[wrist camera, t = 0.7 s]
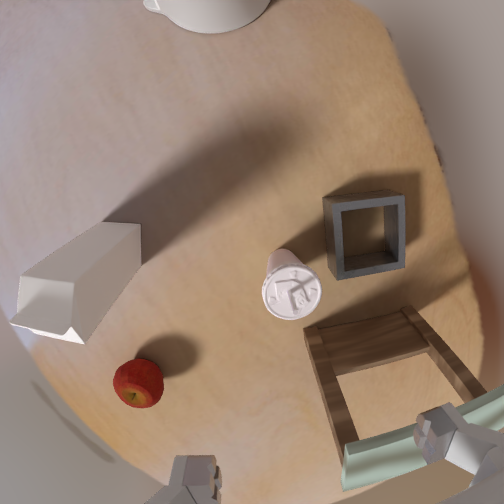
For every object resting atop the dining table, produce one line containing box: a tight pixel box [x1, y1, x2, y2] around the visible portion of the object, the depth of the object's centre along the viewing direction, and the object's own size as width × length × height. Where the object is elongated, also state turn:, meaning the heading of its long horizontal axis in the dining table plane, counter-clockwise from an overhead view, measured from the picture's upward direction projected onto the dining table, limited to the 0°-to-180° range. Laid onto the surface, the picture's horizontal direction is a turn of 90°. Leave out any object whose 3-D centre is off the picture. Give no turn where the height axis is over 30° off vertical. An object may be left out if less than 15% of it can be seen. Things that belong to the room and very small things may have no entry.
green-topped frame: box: [303, 306, 504, 492], centre depth 32 cm, size 7×19×26 cm, turn 99°
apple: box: [113, 358, 164, 408], centre depth 44 cm, size 8×8×8 cm
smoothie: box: [262, 249, 322, 320], centre depth 35 cm, size 6×6×14 cm
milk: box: [10, 222, 142, 344], centre depth 30 cm, size 6×6×22 cm
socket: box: [322, 190, 405, 280], centre depth 39 cm, size 10×10×4 cm
